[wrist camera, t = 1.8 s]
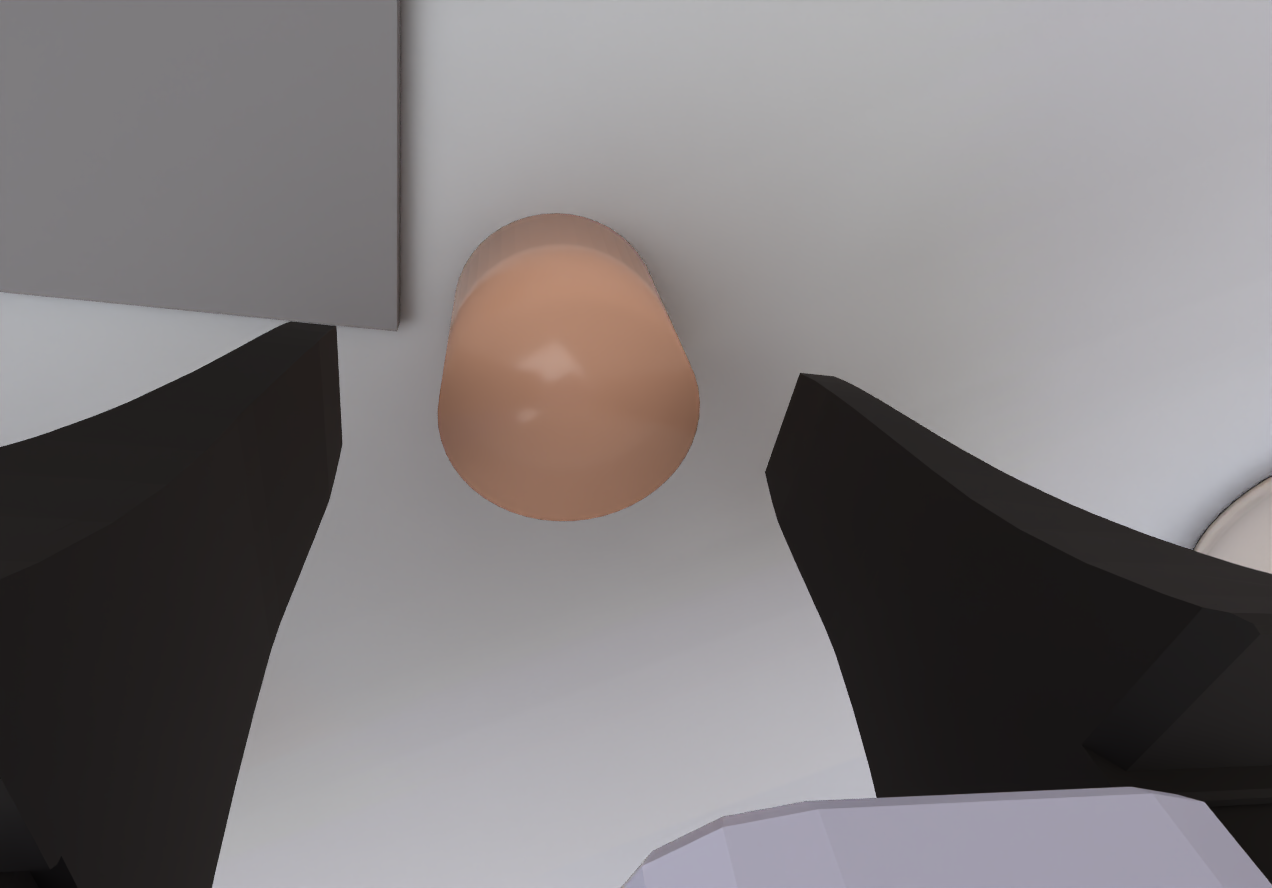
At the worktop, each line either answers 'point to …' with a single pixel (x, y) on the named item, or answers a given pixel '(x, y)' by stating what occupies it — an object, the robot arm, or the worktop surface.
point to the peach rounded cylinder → (563, 373)
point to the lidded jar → (1243, 531)
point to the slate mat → (204, 156)
